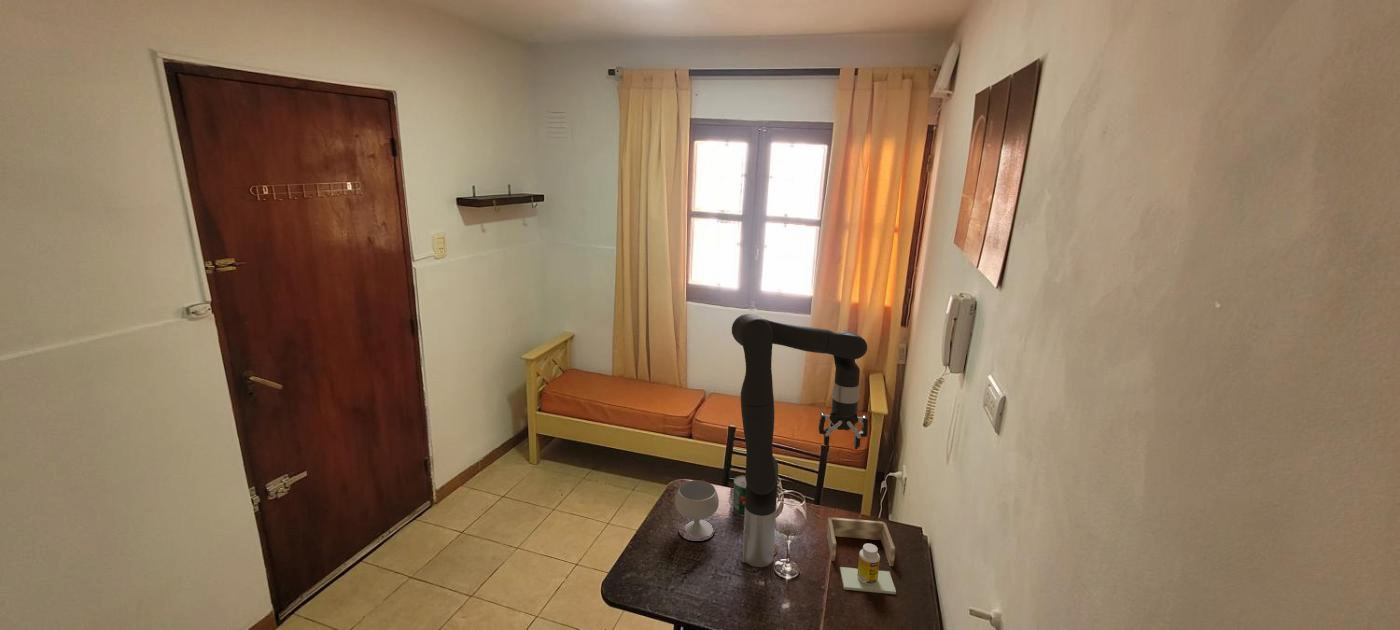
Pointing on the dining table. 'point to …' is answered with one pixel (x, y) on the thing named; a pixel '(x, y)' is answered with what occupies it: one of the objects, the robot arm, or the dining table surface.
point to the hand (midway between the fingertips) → (841, 447)
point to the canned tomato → (739, 495)
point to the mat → (853, 583)
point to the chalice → (697, 506)
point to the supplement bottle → (868, 564)
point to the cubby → (859, 534)
